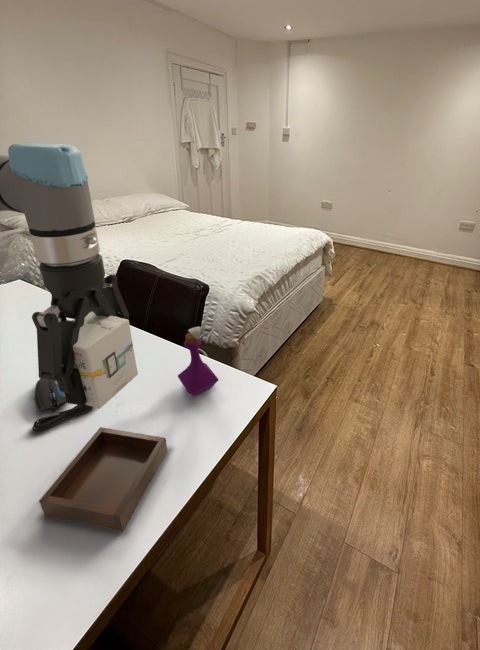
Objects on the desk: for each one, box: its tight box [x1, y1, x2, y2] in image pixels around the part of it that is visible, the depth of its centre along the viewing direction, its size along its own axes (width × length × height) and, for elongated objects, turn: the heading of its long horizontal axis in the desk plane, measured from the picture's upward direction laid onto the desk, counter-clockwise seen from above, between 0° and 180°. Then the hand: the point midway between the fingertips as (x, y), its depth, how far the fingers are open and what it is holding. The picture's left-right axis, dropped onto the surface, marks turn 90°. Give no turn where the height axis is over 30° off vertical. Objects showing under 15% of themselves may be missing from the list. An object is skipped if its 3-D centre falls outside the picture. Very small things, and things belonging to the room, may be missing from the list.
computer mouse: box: [31, 378, 94, 432], centre depth 75 cm, size 12×18×4 cm
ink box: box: [55, 312, 139, 410], centre depth 53 cm, size 8×8×12 cm
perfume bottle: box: [177, 326, 219, 397], centre depth 77 cm, size 8×8×18 cm
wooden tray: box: [38, 426, 168, 532], centre depth 58 cm, size 14×14×4 cm
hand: (99, 379), depth 54 cm, fingers closed on ink box, 9 cm apart
